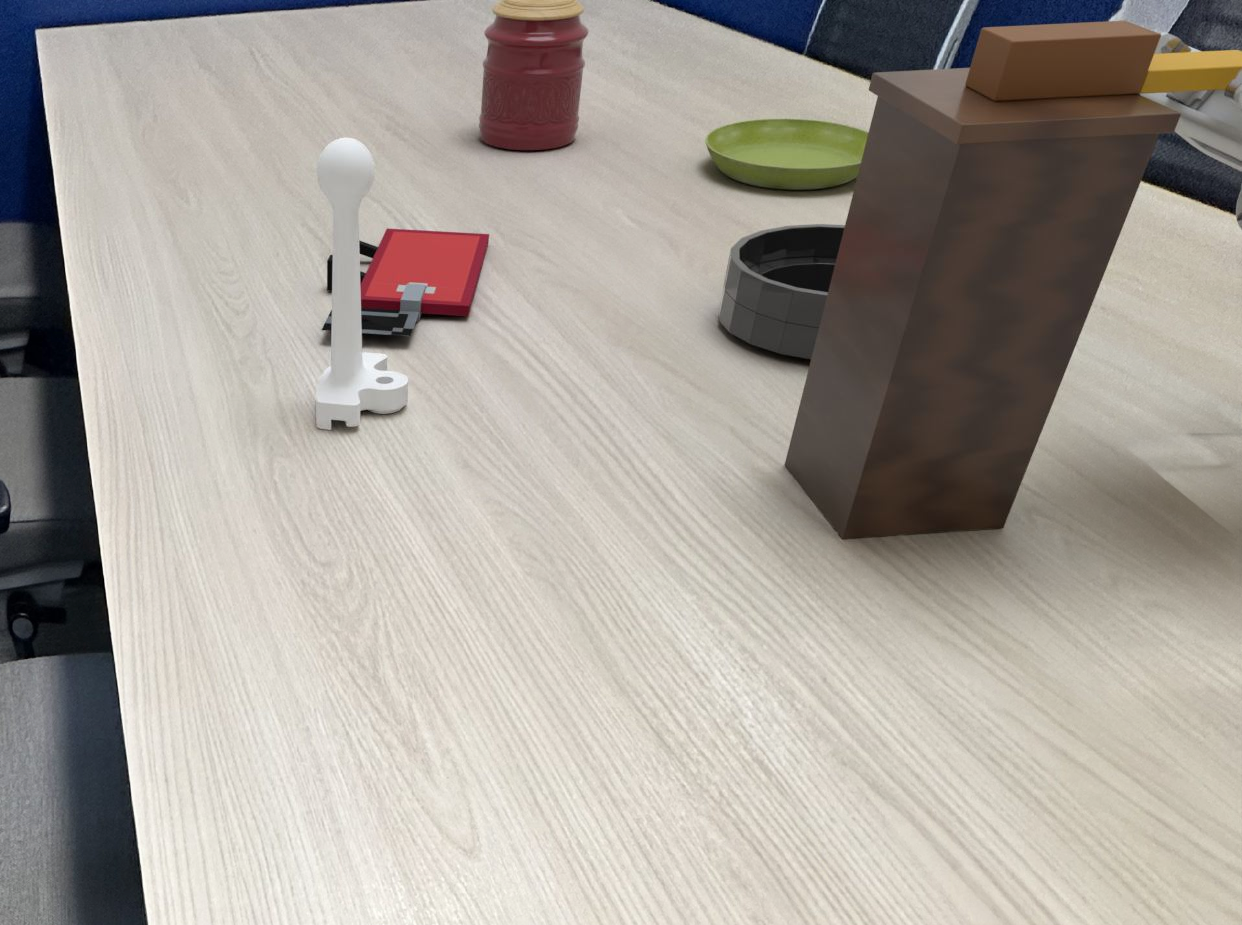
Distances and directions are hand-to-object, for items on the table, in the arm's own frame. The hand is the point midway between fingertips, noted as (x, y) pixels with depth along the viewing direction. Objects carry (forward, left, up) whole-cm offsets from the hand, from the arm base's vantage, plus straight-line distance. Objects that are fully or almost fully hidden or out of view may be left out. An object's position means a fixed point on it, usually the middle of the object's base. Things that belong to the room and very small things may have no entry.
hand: (1196, 62), depth 76 cm
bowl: (+3, -33, -27) cm, 43 cm away
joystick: (+48, -22, -27) cm, 60 cm away
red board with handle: (+41, -49, -27) cm, 70 cm away
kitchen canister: (+17, -102, -27) cm, 107 cm away
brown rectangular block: (+5, 0, -1) cm, 5 cm away
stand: (+11, 0, -27) cm, 29 cm away
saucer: (-11, -82, -27) cm, 87 cm away
